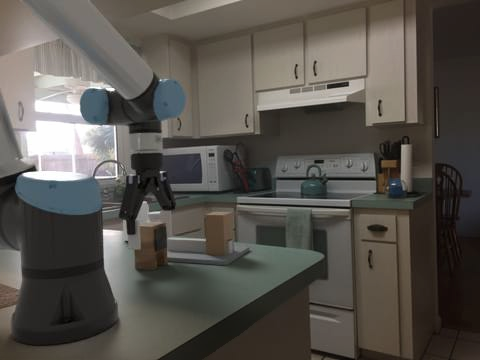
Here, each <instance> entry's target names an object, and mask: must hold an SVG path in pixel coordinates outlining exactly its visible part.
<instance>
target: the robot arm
mask: <svg viewBox="0 0 480 360" xmlns="http://www.w3.org/2000/svg"><path fill="white" fill-rule="evenodd" d="M19 1H20V2H21V3H22V5H24V6H25V7H26V8H27V9H28V10H29V11H30V12H31V13H32V14H33V15H35V17H36V18H38V20H40V21H41V22H42V23H43V24H44V25H45V26H46V27H47V28H48V29H49V30H50V31H51V32H52V33H54V34H55V35H56V37H58V38H59V39H60V40H61V41H62V42H63V43H64V44H65V45H66V46H67V47H68V48H70V49H71V51H73V52H74V53H75V54H76V55H77V56H78V57H79V58H80V59H81V60H82V61H83V62H84V63H85V64H87V66H88V67H89V68H91V69H92V71H94V72H95V73H96V74H97V75H98V76H99V77H100V78H101V79H102V80H104V81H105V82H106V84H108V85H109V86H110V87H111V88H104V87H102V86H99V87H95V86H94V87H93V86H91V87H88V88H87V89H85V90H84V91H83V92H82V94H81V96H80V99H79V111H80V114H81V117H82V118H83V120H84V121H86V123H89V124H91V125H99V126H126V127H128V138H129V140H128V141H129V151H130V152H132V153H131V154H130V168H131V169H132V170H134V171H135V174H126V175H125V187H124V192H123V194H122V195H123V197H122V200H121V204H120V208H119V212H118V218H119V219H121V220H122V221H123V220H126V226H127V235H128V242H127V244H128V245H127V246H128V250H134V249H138V250H139V249H141V242H140V224H139V220H136V218H137V216H138V213H139V211H140V208H141V206H142V203H143V201H144V200H145V198H146V196H147V195H148V194H149V193H152V194H153V196H154V198H155V199H156V201H157V203H158V205H159V206H160V208H161V210H160V211H159V212H160V218H161V222H166V229H167V238H173V223H172V211H175V210H176V206H177V203H176V199H175V196H174V193H173V190H172V186H171V184H170V180H169V173H168V171H163V170H161V171H160V169H163V168H165V160H164V159H165V158H164V154H163V152H161V151H163V150H164V146H163V139H164V138H163V130H162V128H163V127H162V126H163V125H162V122H163V121H167V120H172V119H176V118H178V117H180V116H181V115H182V114H183V112H184V110H185V108H186V104H187V103H186V102H187V100H186V93H185V90H184V87H183V86H182V84H181V83H180V82H179V81H177V80H175V79H173V78H165V77H164V78H162V79H161V78H160V77H159V76H158V74H157V73H156V72H154V71H153V69H152V68H151V67H150V66H149V65H148V64H147V63H146V62H145V60H143V58H142V57H141V56H140V55H139V54H138V53H137V52H136V50H134V48H133V47H132V46H131V45H130V44H129V43H128V42H127V40H125V38H124V37H123V36H122V35H121V34H120V33H119V32H118V30H117V29H116V28H115V27H114V26H113V25H112V24H111V23H110V22H109V21H108V19H107V18H106V17H105V16H104V15H103V14H102V13H101V12H100V11H99V10H98V8H96V6H95V5H94V4H93V3H92V2H91V1H90V0H19ZM3 95H4V94H3V92H2V89H1V88H0V250H9V251H15V252H20V267H21V269H20V270H21V282H20V283H21V284H20V287H19V292H18V296H17V298H16V299H17V300H16V305H15V309H14V312H13V313H12V316H11V318H10V331H11V337H12V339H14V340H15V341H17V342H19V343H21V344H27V345H40V346H41V345H42V346H44V345H47V346H48V345H59V344H64V343H71V342H74V341H79V340H83V339H86V338H89V337H92V336H95V335H98V334H100V333H101V332H104V331H106V330H108V329H109V328H111V327H112V326H113V325H114V324H116V322H117V321H118V319H119V307H118V306H119V304H118V301H117V298H116V297H115V296H114V294H113V293H114V292H113V291H112V290H113V289H112V287H111V286H112V285H111V284H110V281H109V278H108V275H107V274H106V270H105V257H104V256H105V252H104V251H105V250H104V225H103V224H104V222H103V199H102V194H101V193H102V192H101V187H100V186H101V185H100V182H99V181H98V179H97V178H96V177H94V176H92V175H89V174H85V173H82V172H81V173H80V172H72V171H56V170H55V171H54V170H47V171H46V170H45V171H44V170H42V171H38V169H37V166H36V163H35V161H33V160H31V159H29V158H28V157H26V156H24V155H23V154H22V152H21V148H20V146H19V143H18V139H17V136H16V132H15V130H14V127H13V122H12V121H11V117H10V114H9V112H8V108H7V105H6V102H5V98H4V96H3ZM125 212H126V213H125Z"/></svg>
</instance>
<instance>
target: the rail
mask: <svg viewBox="0 0 480 360" xmlns="http://www.w3.org/2000/svg"><path fill="white" fill-rule="evenodd" d="M233 213H234V212H233V211H213V212H209V213H206V214H204V217H203V218H204V221H203V222H204V225H203V226H204V238H187V237H186V238H184V237H182V238H181V237H167V262H172V263H185V264H187V263H189V264H201V265H202V264H203V265H215V266H216V265H219V266H227V265H229V264H230V263H232V262H234V261H235V260H237V259H239V258H240V257H242V256H243V255H245V254H246V253H247V252H249V251H250V246H243V245H241V246H240V245H234V243H235V242H234V216H233Z"/></svg>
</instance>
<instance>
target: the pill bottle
mask: <svg viewBox="0 0 480 360" xmlns="http://www.w3.org/2000/svg"><path fill="white" fill-rule="evenodd" d="M148 218H149V220H148V221H147V222H161V218H160V211H149V213H148Z"/></svg>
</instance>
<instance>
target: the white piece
mask: <svg viewBox="0 0 480 360" xmlns="http://www.w3.org/2000/svg"><path fill="white" fill-rule="evenodd" d="M149 208H150V207H149V204H148V202H147V201H143V203H142V206H141V208H140V211H139V213H138V216H137V218H136V220H139V224H142V223H146V222H147V221H148V220H149V218H148V213H149V212H150V209H149ZM125 213H126V212H125ZM122 227H123V228H122V230H123V231H122V233H123V240H124V241H128V235H127V226H126V220H122Z"/></svg>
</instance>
